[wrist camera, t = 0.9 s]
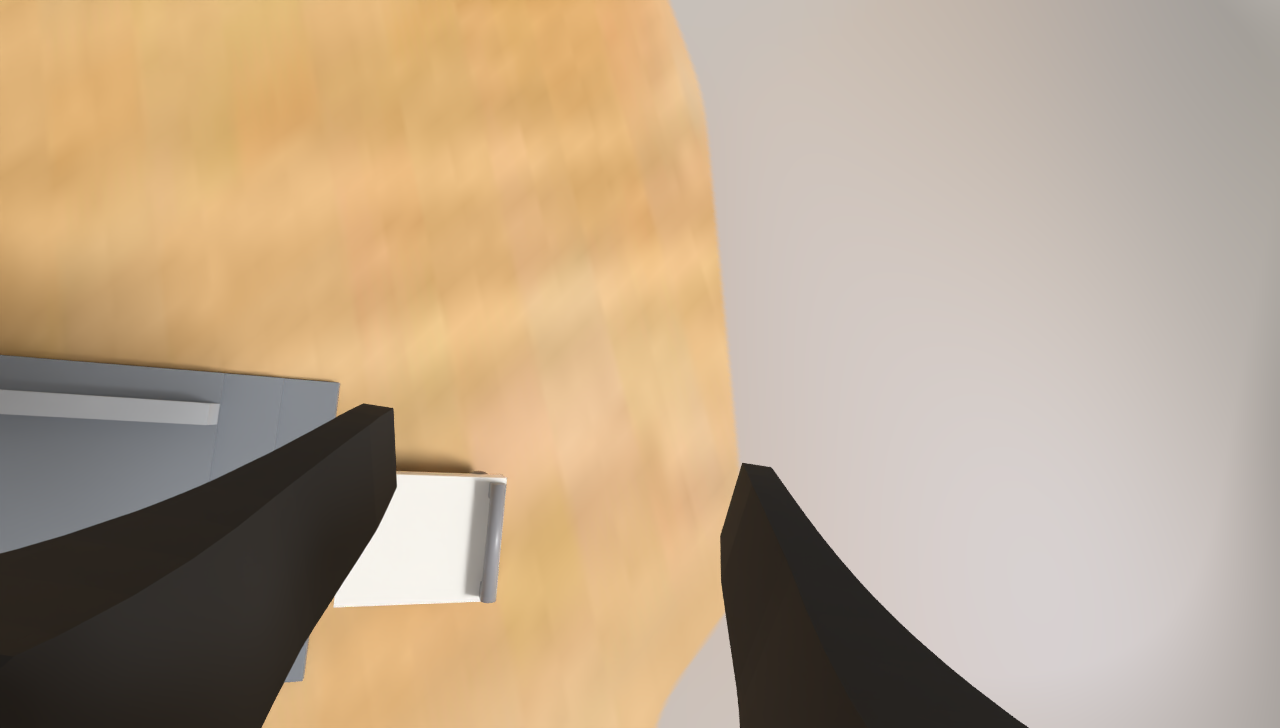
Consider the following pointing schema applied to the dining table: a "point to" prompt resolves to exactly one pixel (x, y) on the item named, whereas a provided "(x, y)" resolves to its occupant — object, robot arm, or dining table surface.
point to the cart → (432, 543)
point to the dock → (133, 439)
